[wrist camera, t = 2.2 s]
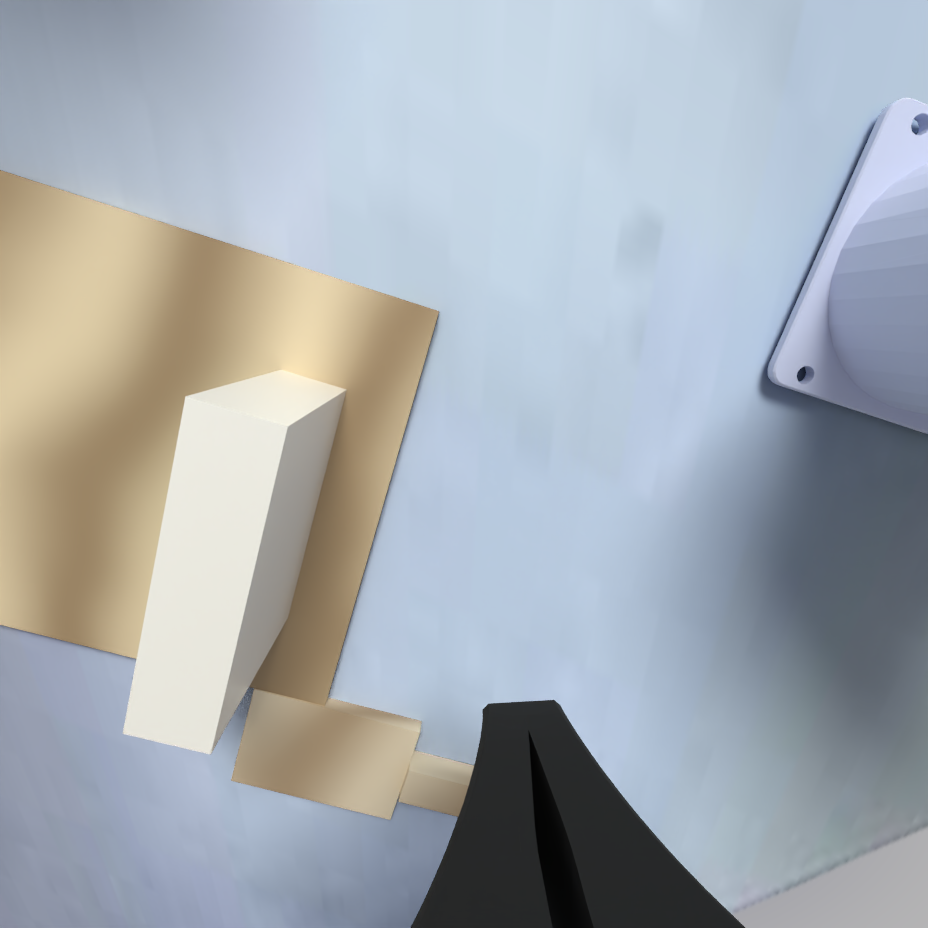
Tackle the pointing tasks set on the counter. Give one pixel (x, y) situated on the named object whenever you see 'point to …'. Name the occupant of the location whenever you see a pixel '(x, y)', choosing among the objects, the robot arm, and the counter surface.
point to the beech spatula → (345, 757)
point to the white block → (229, 550)
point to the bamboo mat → (174, 413)
